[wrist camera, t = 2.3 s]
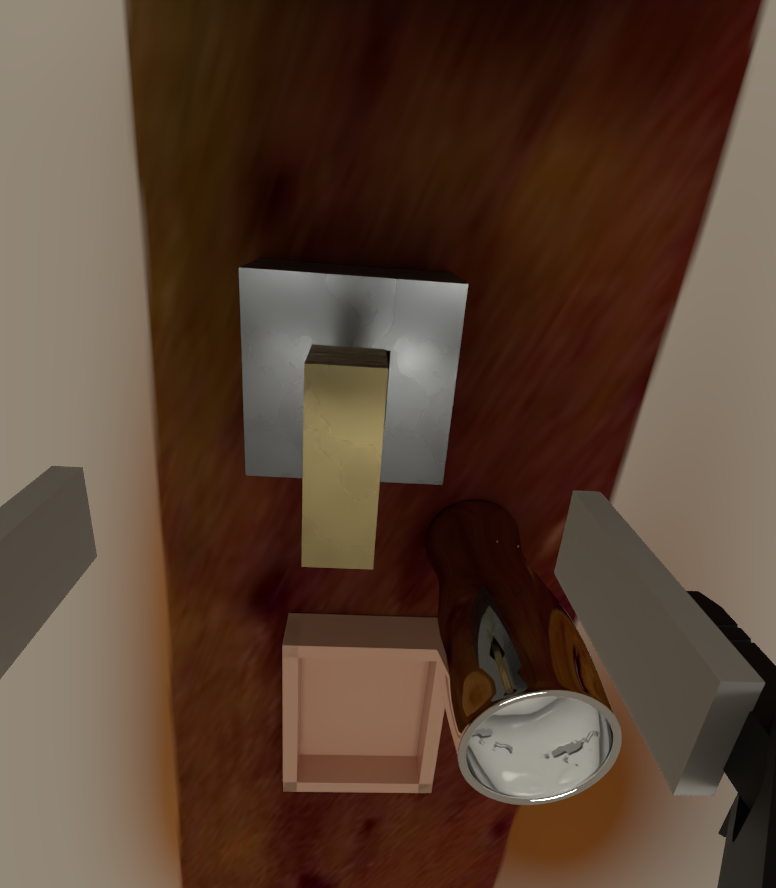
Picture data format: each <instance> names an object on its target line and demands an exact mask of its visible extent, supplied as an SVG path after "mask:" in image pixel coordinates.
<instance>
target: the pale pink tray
mask: <svg viewBox="0 0 776 888" xmlns="http://www.w3.org/2000/svg"><path fill="white" fill-rule="evenodd" d="M437 619H438V618H429V617H398V616H367V615H336V614H305V613H289V614H288V619H287V624H286V629H285V635H284V640H283V645H282V663H283V791H291V792H382V793H431V790H432V784H433V777H434V771H435V765H436V759H437V752H438V746H439V740H440V733H441V727H442V721H443V715H444V708H445V705H444V700H443V695H442V690H441V684H440V678H439V670H438V661H437Z"/></svg>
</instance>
